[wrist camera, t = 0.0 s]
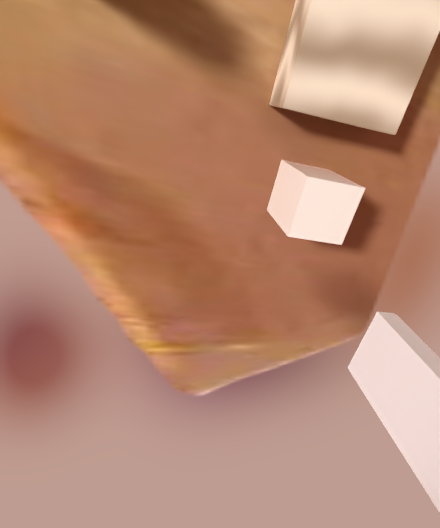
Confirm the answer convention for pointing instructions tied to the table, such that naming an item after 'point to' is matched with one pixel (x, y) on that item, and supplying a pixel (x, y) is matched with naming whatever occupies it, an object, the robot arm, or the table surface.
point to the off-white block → (313, 202)
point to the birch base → (355, 59)
